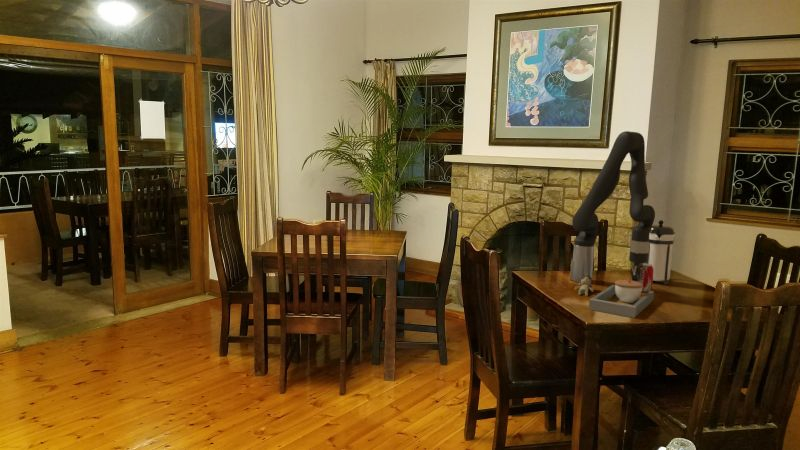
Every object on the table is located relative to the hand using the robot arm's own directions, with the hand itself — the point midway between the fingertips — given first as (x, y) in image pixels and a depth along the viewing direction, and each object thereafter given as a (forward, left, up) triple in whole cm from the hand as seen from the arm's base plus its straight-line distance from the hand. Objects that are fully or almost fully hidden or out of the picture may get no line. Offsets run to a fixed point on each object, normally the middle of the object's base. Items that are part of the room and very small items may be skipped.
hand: (635, 289), depth 251 cm
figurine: (-19, -11, -2) cm, 22 cm away
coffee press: (+1, +34, -2) cm, 34 cm away
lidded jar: (0, -14, -2) cm, 14 cm away
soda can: (+1, +10, -2) cm, 10 cm away
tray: (0, -22, -2) cm, 22 cm away
